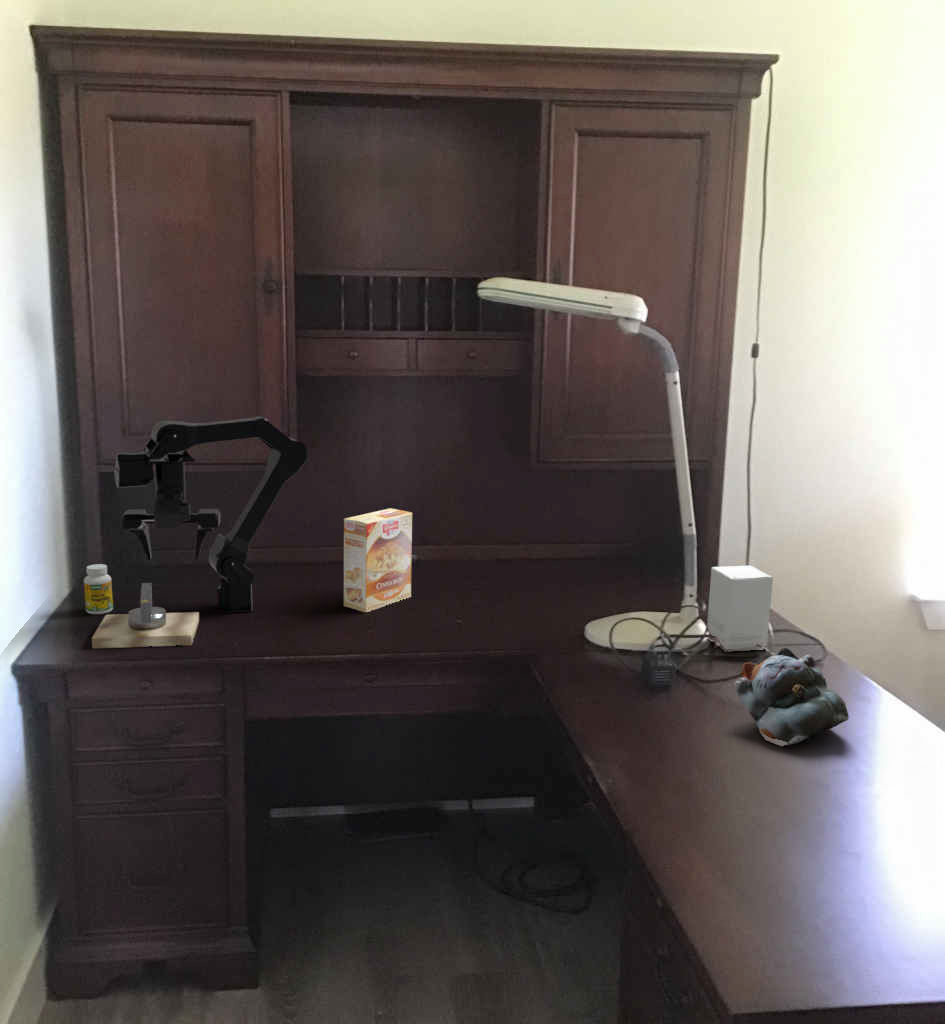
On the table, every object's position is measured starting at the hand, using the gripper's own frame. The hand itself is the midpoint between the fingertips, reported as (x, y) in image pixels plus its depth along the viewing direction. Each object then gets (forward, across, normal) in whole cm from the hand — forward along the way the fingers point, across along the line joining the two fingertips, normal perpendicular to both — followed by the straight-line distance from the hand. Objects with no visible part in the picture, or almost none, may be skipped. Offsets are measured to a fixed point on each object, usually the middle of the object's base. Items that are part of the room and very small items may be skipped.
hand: (173, 559), depth 206 cm
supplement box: (+12, +110, -28) cm, 114 cm away
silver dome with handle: (+10, -4, -11) cm, 15 cm away
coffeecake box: (+12, +42, +6) cm, 44 cm away
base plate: (+12, -4, -11) cm, 17 cm away
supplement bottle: (+12, -16, +5) cm, 21 cm away
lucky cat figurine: (+12, +102, -68) cm, 123 cm away
